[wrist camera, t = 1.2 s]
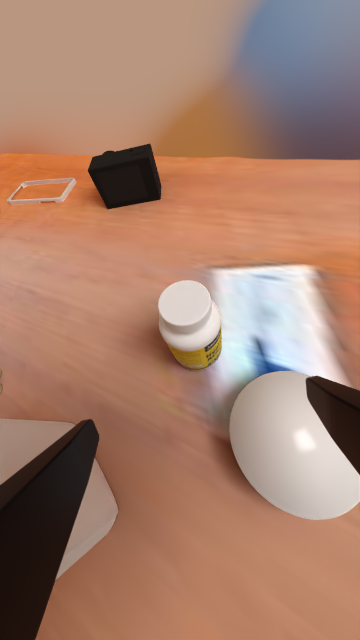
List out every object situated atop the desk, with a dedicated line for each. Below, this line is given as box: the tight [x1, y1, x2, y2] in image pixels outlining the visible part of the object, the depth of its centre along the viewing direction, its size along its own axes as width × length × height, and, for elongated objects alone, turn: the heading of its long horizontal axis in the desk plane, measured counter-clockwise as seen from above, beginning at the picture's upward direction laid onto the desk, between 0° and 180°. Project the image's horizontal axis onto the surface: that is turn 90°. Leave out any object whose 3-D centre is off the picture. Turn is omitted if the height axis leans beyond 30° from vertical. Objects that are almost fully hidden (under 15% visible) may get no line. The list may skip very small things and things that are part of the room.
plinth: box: [229, 371, 360, 520], centre depth 18 cm, size 10×10×2 cm
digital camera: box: [88, 144, 161, 209], centre depth 38 cm, size 10×5×7 cm, turn 90°
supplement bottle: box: [158, 280, 221, 371], centre depth 20 cm, size 5×5×10 cm
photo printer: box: [0, 419, 118, 579], centre depth 15 cm, size 10×4×12 cm, turn 41°
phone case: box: [7, 178, 77, 205], centre depth 48 cm, size 7×1×15 cm
